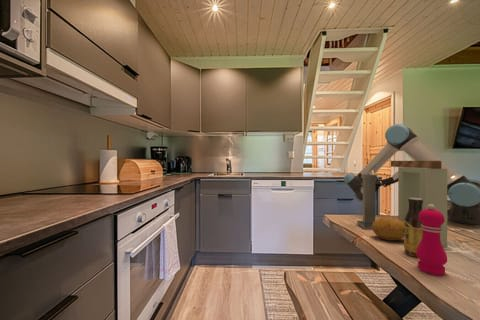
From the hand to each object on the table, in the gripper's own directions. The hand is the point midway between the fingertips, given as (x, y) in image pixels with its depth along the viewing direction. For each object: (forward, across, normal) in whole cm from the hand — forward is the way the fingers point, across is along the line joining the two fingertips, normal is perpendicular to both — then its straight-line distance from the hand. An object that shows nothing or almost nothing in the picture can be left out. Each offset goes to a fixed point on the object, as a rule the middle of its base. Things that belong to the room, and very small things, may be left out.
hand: (386, 172), depth 122 cm
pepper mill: (+34, +16, -51) cm, 63 cm away
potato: (+11, +13, -37) cm, 41 cm away
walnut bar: (+19, 0, -7) cm, 21 cm away
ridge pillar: (-4, +14, -28) cm, 32 cm away
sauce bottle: (+24, +13, -45) cm, 52 cm away
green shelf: (+9, 0, -36) cm, 37 cm away
